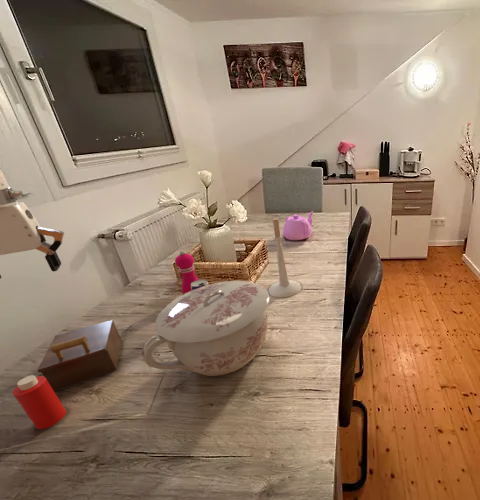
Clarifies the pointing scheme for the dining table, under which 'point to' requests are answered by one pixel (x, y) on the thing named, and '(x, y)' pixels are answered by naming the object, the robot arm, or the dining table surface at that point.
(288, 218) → the teapot
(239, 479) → the dining table surface
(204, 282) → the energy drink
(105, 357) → the chest
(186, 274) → the pepper mill
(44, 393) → the ketchup bottle
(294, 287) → the candlestick
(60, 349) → the lid
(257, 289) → the chamber pot
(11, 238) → the robot arm
